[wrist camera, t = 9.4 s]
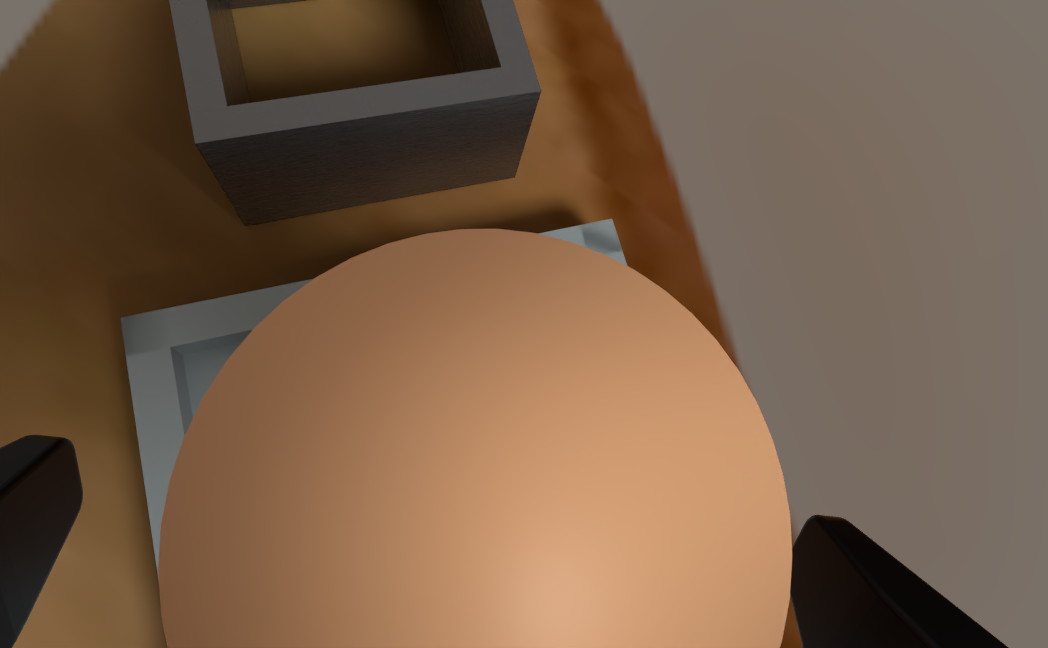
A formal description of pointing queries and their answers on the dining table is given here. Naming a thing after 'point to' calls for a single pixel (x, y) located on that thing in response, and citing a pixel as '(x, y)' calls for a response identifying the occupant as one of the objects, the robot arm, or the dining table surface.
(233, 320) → the tray
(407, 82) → the square socket holder
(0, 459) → the robot arm
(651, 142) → the dining table surface
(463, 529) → the peg
